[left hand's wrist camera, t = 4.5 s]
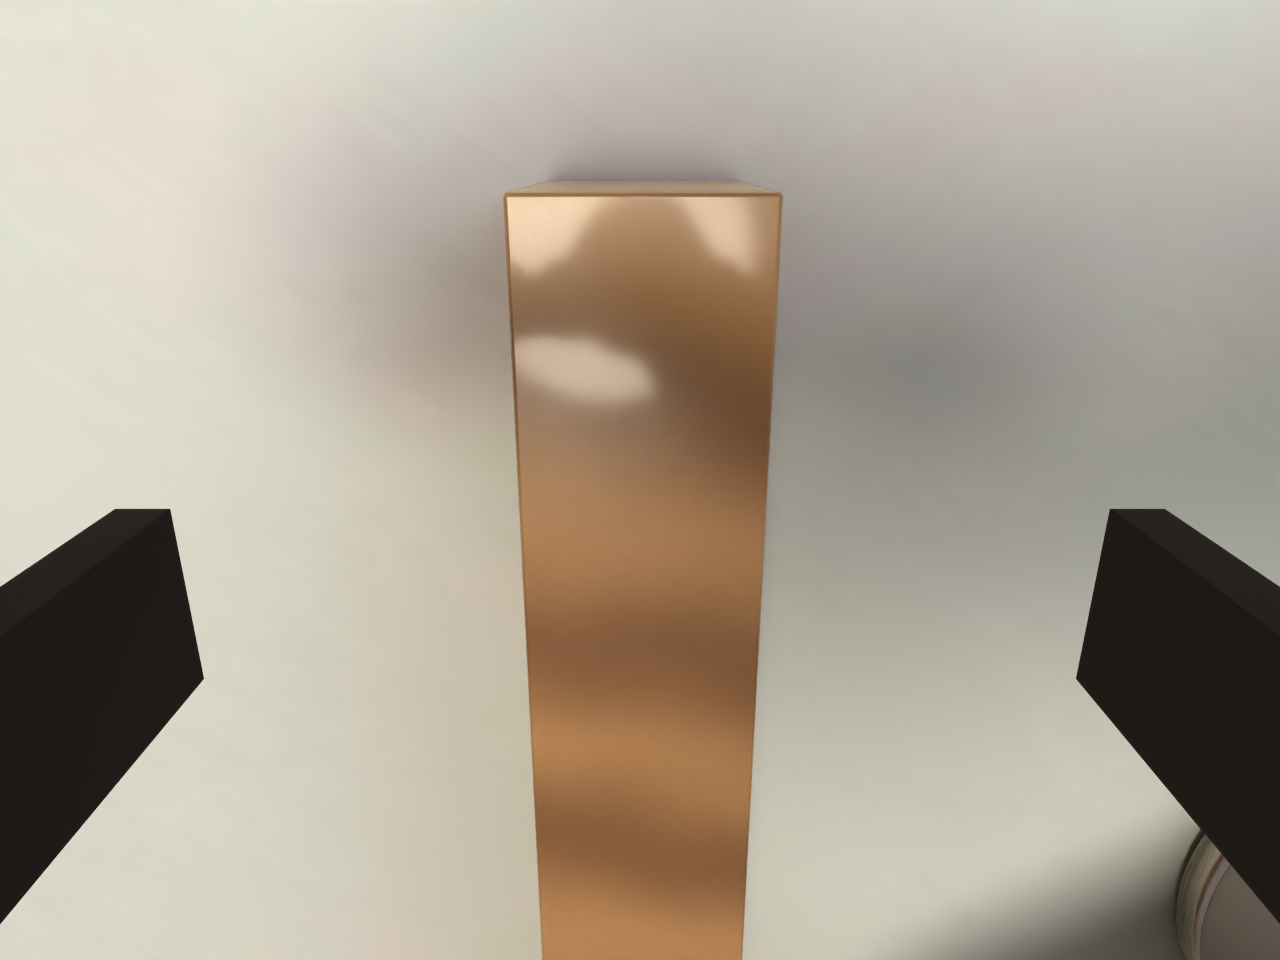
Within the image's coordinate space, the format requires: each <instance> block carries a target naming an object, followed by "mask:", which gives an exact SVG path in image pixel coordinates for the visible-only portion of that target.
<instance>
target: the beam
mask: <svg viewBox="0 0 1280 960" xmlns="http://www.w3.org/2000/svg"><path fill="white" fill-rule="evenodd" d="M503 198H504V218H505V237H506V257H507V277H508V296H509V316H510V335H511V355H512V375H513V394H514V414H515V433H516V453H517V472H518V492H519V512H520V531H521V551H522V570H523V590H524V610H525V629H526V649H527V668H528V688H529V707H530V727H531V747H532V766H533V786H534V805H535V825H536V844H537V864H538V884H539V903H540V923H541V942H542V960H742V950H743V931H744V912H745V894H746V875H747V856H748V838H749V819H750V800H751V782H752V763H753V744H754V726H755V707H756V688H757V670H758V651H759V632H760V614H761V595H762V576H763V558H764V539H765V520H766V502H767V483H768V464H769V446H770V427H771V408H772V390H773V371H774V352H775V334H776V315H777V296H778V278H779V259H780V240H781V222H782V203H783V196H782V194H781V193H779V192H775V191H772V190H768V189H765V188H761V187H757V186H754V185H750V184H747V183H743V182H740V181H545V182H542V183H538V184H535V185H531V186H528V187H525V188H521V189H518V190H514V191H511V192H508V193H505V194H504V197H503Z"/></svg>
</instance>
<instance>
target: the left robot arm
mask: <svg viewBox="0 0 1280 960" xmlns="http://www.w3.org/2000/svg"><path fill="white" fill-rule="evenodd" d="M203 679H204V677H203V672H202V667H201V662H200V657H199V652H198V647H197V642H196V637H195V632H194V627H193V622H192V617H191V612H190V606H189V601H188V596H187V591H186V586H185V581H184V576H183V571H182V566H181V561H180V556H179V551H178V546H177V541H176V536H175V531H174V526H173V521H172V516H171V511H170V509H114V510H113V511H112V512H110V513H109V514H107V515H106V516H104V517H103V518H101V519H100V520H98V521H97V522H95V523H94V524H92V525H91V526H89V527H88V528H86V529H85V530H83V531H82V532H81V533H79V534H78V535H76V536H75V537H73V538H72V539H70V540H69V541H67V542H66V543H64V544H63V545H61V546H60V547H58V548H57V549H55V550H54V551H52V552H51V553H50V554H48V555H47V556H45V557H44V558H42V559H41V560H39V561H38V562H36V563H35V564H33V565H32V566H30V567H29V568H27V569H26V570H24V571H23V572H22V573H20V574H19V575H17V576H16V577H14V578H13V579H11V580H10V581H8V582H7V583H5V584H4V585H2V586H1V587H0V924H1V923H2V921H3V920H4V919H5V918H6V917H7V915H8V914H9V913H10V912H11V910H12V909H13V908H14V907H15V906H16V904H17V903H18V902H19V901H20V900H21V898H22V897H23V896H24V895H25V894H26V892H27V891H28V890H29V889H30V888H31V886H32V885H33V884H34V883H35V882H36V880H37V879H38V878H39V877H40V876H41V874H42V873H43V872H44V871H45V870H46V868H47V867H48V866H49V865H50V864H51V862H52V861H53V860H54V859H55V857H56V856H57V855H58V854H59V853H60V851H61V850H62V849H63V848H64V847H65V845H66V844H67V843H68V842H69V841H70V839H71V838H72V837H73V836H74V835H75V833H76V832H77V831H78V830H79V829H80V827H81V826H82V825H83V824H84V823H85V821H86V820H87V819H88V818H89V817H90V815H91V814H92V813H93V812H94V811H95V809H96V808H97V807H98V806H99V804H100V803H101V802H102V801H103V800H104V798H105V797H106V796H107V795H108V794H109V792H110V791H111V790H112V789H113V788H114V786H115V785H116V784H117V783H118V782H119V780H120V779H121V778H122V777H123V776H124V774H125V773H126V772H127V771H128V770H129V768H130V767H131V766H132V765H133V764H134V762H135V761H136V760H137V759H138V758H139V756H140V755H141V754H142V753H143V752H144V750H145V749H146V748H147V747H148V745H149V744H150V743H151V742H152V741H153V739H154V738H155V737H156V736H157V735H158V733H159V732H160V731H161V730H162V729H163V727H164V726H165V725H166V724H167V723H168V721H169V720H170V719H171V718H172V717H173V715H174V714H175V713H176V712H177V711H178V709H179V708H180V707H181V706H182V705H183V703H184V702H185V701H186V700H187V699H188V697H189V696H190V695H191V694H192V692H193V691H194V690H195V689H196V688H197V686H198V685H199V684H200V683H201V682H202V680H203ZM1076 679H1077V680H1078V682H1079V683H1080V684H1081V685H1082V686H1083V688H1084V689H1085V690H1086V691H1087V692H1088V694H1089V695H1090V696H1091V697H1092V699H1093V700H1094V701H1095V702H1096V703H1097V705H1098V706H1099V707H1100V708H1101V709H1102V711H1103V712H1104V713H1105V714H1106V715H1107V717H1108V718H1109V719H1110V720H1111V721H1112V723H1113V724H1114V725H1115V726H1116V727H1117V729H1118V730H1119V731H1120V732H1121V733H1122V735H1123V736H1124V737H1125V738H1126V739H1127V741H1128V742H1129V743H1130V744H1131V745H1132V747H1133V748H1134V749H1135V750H1136V752H1137V753H1138V754H1139V755H1140V756H1141V758H1142V759H1143V760H1144V761H1145V762H1146V764H1147V765H1148V766H1149V767H1150V768H1151V770H1152V771H1153V772H1154V773H1155V774H1156V776H1157V777H1158V778H1159V779H1160V780H1161V782H1162V783H1163V784H1164V785H1165V786H1166V788H1167V789H1168V790H1169V791H1170V792H1171V794H1172V795H1173V796H1174V797H1175V798H1176V800H1177V801H1178V802H1179V803H1180V804H1181V806H1182V807H1183V808H1184V809H1185V811H1186V812H1187V813H1188V814H1189V815H1190V817H1191V818H1192V819H1193V820H1194V821H1195V823H1196V824H1197V825H1198V826H1199V827H1200V829H1201V830H1202V831H1203V832H1204V833H1205V834H1204V836H1203V837H1202V838H1201V840H1200V842H1199V843H1198V845H1197V847H1196V848H1195V850H1194V852H1193V854H1192V856H1191V858H1190V860H1189V862H1188V864H1187V866H1186V869H1185V871H1184V874H1183V877H1182V880H1181V883H1180V888H1179V892H1178V897H1177V906H1176V927H1177V933H1178V938H1179V942H1180V945H1181V948H1182V951H1183V954H1184V956H1185V958H1186V960H1280V587H1279V586H1278V585H1276V584H1275V583H1273V582H1272V581H1270V580H1269V579H1267V578H1266V577H1264V576H1263V575H1261V574H1260V573H1258V572H1257V571H1256V570H1254V569H1253V568H1251V567H1250V566H1248V565H1247V564H1245V563H1244V562H1242V561H1241V560H1239V559H1238V558H1236V557H1235V556H1233V555H1232V554H1230V553H1229V552H1228V551H1226V550H1225V549H1223V548H1222V547H1220V546H1219V545H1217V544H1216V543H1214V542H1213V541H1211V540H1210V539H1208V538H1207V537H1205V536H1204V535H1202V534H1201V533H1199V532H1198V531H1197V530H1195V529H1194V528H1192V527H1191V526H1189V525H1188V524H1186V523H1185V522H1183V521H1182V520H1180V519H1179V518H1177V517H1176V516H1174V515H1173V514H1171V513H1170V512H1168V511H1167V510H1166V509H1110V511H1109V516H1108V521H1107V526H1106V531H1105V536H1104V541H1103V546H1102V551H1101V556H1100V561H1099V566H1098V571H1097V576H1096V581H1095V586H1094V591H1093V596H1092V601H1091V606H1090V612H1089V617H1088V622H1087V627H1086V632H1085V637H1084V642H1083V647H1082V652H1081V657H1080V662H1079V667H1078V672H1077V677H1076Z"/></svg>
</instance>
